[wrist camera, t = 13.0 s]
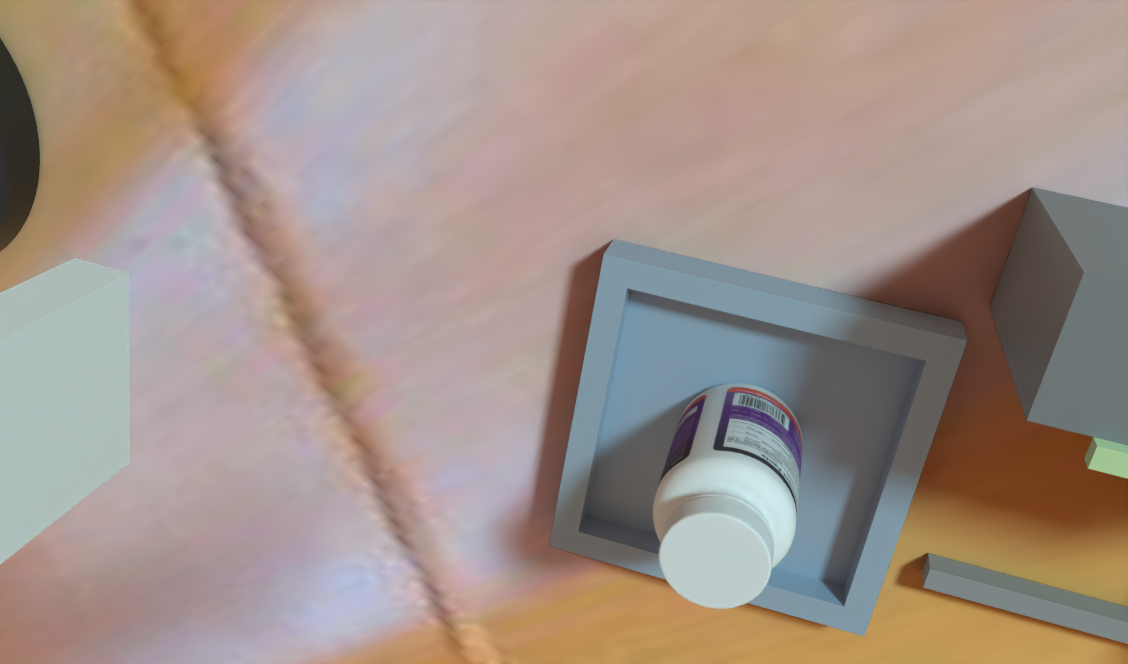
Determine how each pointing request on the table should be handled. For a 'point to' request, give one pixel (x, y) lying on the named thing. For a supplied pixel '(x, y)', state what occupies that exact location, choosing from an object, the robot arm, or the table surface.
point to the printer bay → (1061, 377)
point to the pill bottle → (728, 495)
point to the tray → (787, 369)
